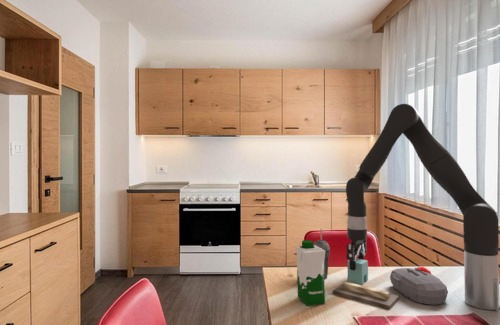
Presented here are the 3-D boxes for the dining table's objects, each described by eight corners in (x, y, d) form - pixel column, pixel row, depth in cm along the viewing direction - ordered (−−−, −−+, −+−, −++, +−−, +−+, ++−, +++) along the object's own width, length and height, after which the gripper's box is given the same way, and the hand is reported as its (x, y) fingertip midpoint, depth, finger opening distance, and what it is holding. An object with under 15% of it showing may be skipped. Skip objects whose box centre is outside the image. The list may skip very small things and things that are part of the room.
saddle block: (368, 280, 130) (367, 260, 130) (362, 284, 125) (362, 264, 125) (353, 277, 134) (353, 257, 134) (347, 281, 129) (347, 261, 129)
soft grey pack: (384, 285, 124) (417, 309, 105) (384, 264, 124) (417, 283, 105) (420, 283, 126) (459, 305, 106) (420, 262, 126) (459, 280, 106)
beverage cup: (311, 279, 131) (310, 230, 131) (313, 273, 138) (312, 227, 138) (330, 281, 129) (329, 231, 129) (331, 275, 136) (330, 227, 136)
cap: (431, 278, 122) (435, 267, 126) (415, 271, 125) (419, 259, 129) (426, 290, 127) (429, 278, 131) (410, 282, 130) (414, 271, 133)
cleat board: (399, 299, 112) (399, 290, 112) (389, 309, 104) (389, 299, 104) (344, 285, 125) (344, 277, 125) (332, 293, 117) (332, 284, 117)
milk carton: (316, 293, 117) (315, 238, 117) (329, 304, 108) (328, 244, 108) (294, 296, 115) (293, 240, 115) (305, 307, 106) (304, 247, 106)
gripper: (359, 231, 122) (359, 274, 122) (372, 225, 132) (372, 264, 133) (340, 228, 127) (340, 269, 127) (355, 223, 137) (355, 261, 138)
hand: (357, 267), depth 130 cm, fingers open, 8 cm apart
